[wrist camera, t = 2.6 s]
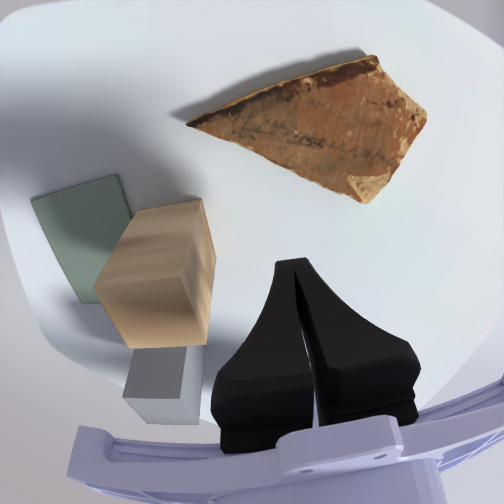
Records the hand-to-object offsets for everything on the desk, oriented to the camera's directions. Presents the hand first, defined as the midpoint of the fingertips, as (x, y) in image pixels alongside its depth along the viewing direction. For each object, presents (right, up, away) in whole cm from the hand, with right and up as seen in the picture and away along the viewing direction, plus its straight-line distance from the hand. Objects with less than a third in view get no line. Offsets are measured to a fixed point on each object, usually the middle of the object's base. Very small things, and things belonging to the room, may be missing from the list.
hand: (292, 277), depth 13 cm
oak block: (-6, +2, +5) cm, 8 cm away
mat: (-12, +1, +5) cm, 13 cm away
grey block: (-8, -6, +10) cm, 14 cm away
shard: (+2, +7, +3) cm, 8 cm away
